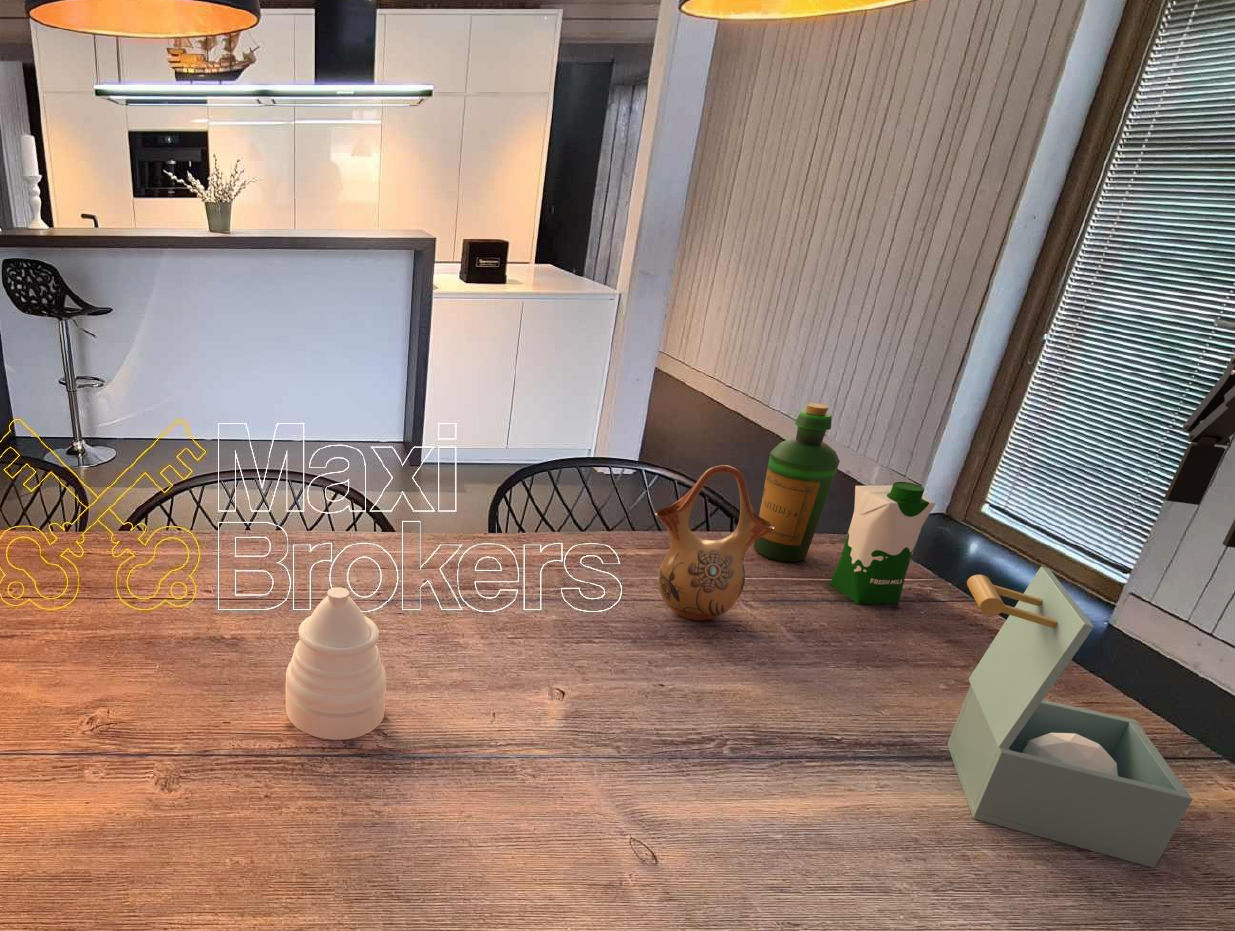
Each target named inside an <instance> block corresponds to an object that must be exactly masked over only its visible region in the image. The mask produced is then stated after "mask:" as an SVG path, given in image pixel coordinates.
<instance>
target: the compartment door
mask: <svg viewBox="0 0 1235 931" xmlns="http://www.w3.org/2000/svg"><path fill="white" fill-rule="evenodd" d="M966 585H967V588H968V589H969V592H970V593H971V595H972V597H973V599H974V601H975V603H976V604H977V607H978V608H979V610H980V611H981V612H982V613H983V614H984V615H986V616H997V615H1000V614H1002V613H1003V614H1006V615H1008V617H1007V619H1006V620H1005V622H1004V623H1003V625H1002V626H1001V627H1000V630H999V631H998V632H997V634H996V635H995V637H994V639H993V640H992V641H991V643H990V645H989V646H988V648H987V650H986V651H985V653H984V654H983V655H982V658H981V659H980V661H979V662H978V664H977V665H976V666H975V668H974V670H973V671H972V673H971V674H970V676H969V678H968V681H969V684H970V685H971V686H972V688H973V690H974V693H975V695H976V697H977V700H978V702H979V704H980V706H981V709H982V711H983V713H984V715H985V718H986V720H987V722H988V724H989V727H990V729H991V731H992V733H993V736H994V738H995V740H996V743H997V745H998V747H1000V748H1002V749H1005V750H1008V748H1009V747H1010V746H1011V744H1012V743H1013V741H1014V740H1015V739H1016V737H1017V736H1018V734H1019V733H1020V731H1021V730H1022V729H1023V727H1024V726H1025V724H1026V723H1027V722H1028V720H1029V719H1030V717H1031V716H1032V714H1033V713H1034V712H1035V710H1036V709H1037V707H1038V706H1039V705H1040V703H1041V702H1042V700H1045V697H1046V696H1047V695H1048V693H1049V692H1050V690H1051V689H1052V688H1053V686H1054V685H1055V683H1056V682H1057V681H1058V679H1059V678H1060V676H1061V675H1062V673H1063V672H1064V670H1065V669H1066V668H1067V666H1068V665H1069V664H1070V662H1071V661H1072V660H1073V658H1074V656H1075V655H1076V654H1077V652H1078V651H1079V650H1080V648H1081V647H1082V645H1083V644H1084V642H1085V641H1086V640H1087V638H1088V636H1089V635H1090V633H1091V632H1092V631H1093V630H1094V628H1095V626H1094V624H1093V623H1092V622H1091V620H1090V619H1089V618H1088V617H1087V615H1086V614H1085V613H1084V611H1083V610H1082V609H1081V607H1080V606H1079V605H1078V603H1077V602H1076V601H1075V599H1074V598H1073V597H1072V596H1071V595H1070V593H1069V592H1068V591H1067V590H1066V588H1065V587H1064V585H1063V584H1062V583H1061V582H1060V581H1059V579H1058V578H1057V577H1056V575H1055V574H1054V572H1052V570H1051V569H1050V568H1048V567H1044V566H1040V567H1039V569H1038V571H1037V572H1036V573H1035V575H1034V576H1033V578H1032V580H1031V581H1030V583H1029V584H1028V586H1027V587H1026V589H1025V590H1024V592H1020V591H1017V590H1013V589H1009V588H1006V587H1002V586H999V585H996V584H993V583H992V581H991V579H990V578H989V577H988V576H986V575H983V574H974V575H971V576H970V577H969V578H968V579H967V580H966ZM1001 597H1006V598H1009V599H1012V600H1015V601H1018V602H1017V603H1016V605H1015V606H1011V605H1007V604H1005V603H1004V601H1003V600H1002V598H1001Z"/></svg>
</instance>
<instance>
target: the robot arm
mask: <svg viewBox="0 0 1235 931" xmlns="http://www.w3.org/2000/svg"><path fill="white" fill-rule="evenodd" d="M1182 431H1183V433H1188V435H1187V442H1189V443H1188V445H1187V446H1186V449H1185V451H1184V453H1183V455H1182V458H1181V460H1180V462H1179V464H1178V466H1177V469H1176V470H1175V473H1174V475H1173V477H1172V480H1171V482H1170V484H1169V486H1168V488H1167V490H1166V492H1165V495H1164V497H1163V499H1164V500H1165V501H1166V502H1171V503H1172V502H1173V503H1180V504H1189V505H1195V506H1200V504H1201V502H1202V500H1203V498H1204V496H1205V494H1206V492H1207V490H1208V488H1209V485H1210V483H1211V481H1212V479H1213V477H1214V475H1215V473H1216V471H1217V469H1218V467H1219V465H1220V462H1221V460H1222V458H1223V456H1224V454H1225V452H1226V448H1225V447H1230V446H1231V445H1232V444H1231V438H1230V437H1233V435H1234V434H1235V354H1234V355H1233V356H1232V358H1231V359H1230V361H1229V363H1228V365H1227V366H1226V368H1225V371H1224V372H1223V374H1222V375H1221V377H1220V378H1219V379H1218V380H1217V381H1216V383H1215V384H1214V385H1213V387H1212V388H1211V389H1210V390H1209V391H1208V393H1207V394H1206V396H1205V397H1204V398H1203V400H1202V401H1201V402H1200V403H1199V405H1197V407H1196V409H1195V410H1194V411H1193V412H1192V413H1191V415H1190V416H1189V417H1188V419H1187V420H1185V423H1184V424H1183V425H1182ZM1223 446H1224V447H1223ZM1222 545H1223V546H1224V547H1227V548H1234V549H1235V518H1234V520H1233V522H1232V524H1231V525H1230V527H1229V530H1228V531H1227V533H1226V535H1225V538H1224V539H1223V541H1222Z"/></svg>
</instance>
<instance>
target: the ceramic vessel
mask: <svg viewBox="0 0 1235 931" xmlns="http://www.w3.org/2000/svg"><path fill="white" fill-rule="evenodd" d="M717 474H728V475H731V476H733V477H734V479H735V481H736V483H737V484H736V485H737V488H738V493H739V503H740V506H739V519H738V522H737V526H736V527H735V529H734V530H733V532H732V533H730V534H729V535H728V536H725V537H723V538H721V539H705V538H704V539H703V538H699V537H698V536H696V534H694V533H693V532H692V530H691V528H690V526H689V521H690V516H691V512H692V509H693V506H694V505H695V502H696V500H697V498H698V496H699V495H700V493H701V491H702V489H703V488H704V486H705V485H706V483H707V482H708V481H709V480H710V479H711V478H712V477H713V476H714V475H717ZM749 495H750V494H749V491H748V486H747V482H746V477H745V476H744V474H743V473H742V471H740V470H739V469H738V468H736V467H733V466H731V465H728V464H721V465H716V466H712V467H710V468H708V469H707V470H706V471H704V472H703V473H702V474H701V475H700V476H699V478H698V479H697V481H696V482H695V483H694V485H693V486H692V487H691V488H690V489H689V490H688V492H686V493H685V494H684V495H683V496H682V497H680V498H679V499H678V500H676V501H675V502H673V504H671V505H668V506H665V507H662V508H660V509H658V510H656V511H655V513H654V515H655V517H656V518H657V519H658V520H659V521H660V522H661V523H662V525H663V526H664V527H665V529H666V530H667V532H668V535H669V539H670V545H669V549H668V552H667V553H666V554H665V556H664V558H662V561H661V562H660V563H661V564H660V565H659V568H658V574H657V585H658V586H657V587H658V591H659V594H660V596H661V599H662V600H663V601H664V603H665V604H666V606H667V607H668V609H671V611H672V612H674V614H676V615H677V616H680V617H682V618H684V619H688V620H693V621H708V620H712V619H714V618H717V617H720V616H722V615H723V614H725V613H727V612H728V611H729V610H731V609H732V608H733V607H734V606H735V605H736V603H737V602H738V601H739V599H740V597H741V596H742V594H743V591H744V589H745V588H744V587H745V584H746V571H745V566H744V563H745V562H744V561H745V557H746V553H747V551H748V550H749V548H750V547H751V545H753V544H754V542H755V541H756V540H757V539H759V538H760V537H762V536H763V535H765V534H767V533H769V532H771V531H772V530H774V527H773V526H772V525H771V524H770V523H769V522H767V521H766V520H764V519H763V518H761V517H759V515H758V514H757V513H756V510H755V509H754V507H753V505H752V503H751V499H750V496H749Z"/></svg>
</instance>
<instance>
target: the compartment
mask: <svg viewBox="0 0 1235 931" xmlns="http://www.w3.org/2000/svg"><path fill="white" fill-rule="evenodd" d="M1049 733H1076V734H1078V735H1080V736H1083V737H1085V738H1087V739H1089V740H1091V741H1094V742H1096V743H1098V744H1100V745H1101V746H1102V747H1103V749H1104V750H1105V751H1106V752H1107V753H1108V754H1109V755H1110V756H1111V757H1112V759H1113V760H1114V761H1115V762H1116V763H1117V772H1118V776H1114V775H1110V774H1106V773H1102V772H1098V771H1094V770H1090V769H1086V768H1081V767H1077V766H1073V765H1069V764H1065V763H1061V762H1057V761H1053V760H1048V759H1044V758H1040V757H1036V756H1032V755H1028V754H1024V753H1022V752H1023V750H1024V749H1025V747H1026V745H1027V744H1028V742H1029V740H1032V739H1035V738H1037V737H1040V736H1043V735H1046V734H1049ZM946 745H947V748H948V751H949V753H950V757H951V760H952V762H953V765H954V768H955V771H956V774H957V776H958V779H959V782H960V785H961V789H962V791H963V794H964V796H965V799H966V802H967V805H968V808H969V811H970V813H971V816H972V819H975V820H978V821H981V822H985V823H989V824H992V825H996V826H999V827H1002V828H1007V829H1011V830H1015V831H1018V832H1022V833H1025V834H1029V835H1031V836H1032V835H1033V836H1036V837H1039V838H1043V839H1047V840H1051V841H1054V842H1058V843H1061V844H1065V845H1069V846H1071V847H1076V848H1080V849H1083V850H1087V851H1091V852H1095V853H1098V854H1101V855H1106V856H1109V857H1113V858H1116V859H1119V860H1123V861H1127V862H1130V863H1135V864H1138V865H1142V866H1145V867H1149V868H1153V869H1154V868H1155V867H1156V865H1157V864H1158V862H1159V861H1160V859H1161V857H1162V855H1163V853H1164V851H1165V850H1166V848H1167V846H1168V844H1169V843H1170V840H1172V837H1173V835H1174V834H1175V832H1176V830H1177V828H1178V827H1179V824H1181V821H1182V819H1183V818H1184V816H1185V814H1186V812H1187V810H1188V809H1189V807H1190V806H1191V803H1192V801H1193V797H1192V796H1191V795H1190V793H1189V792H1188V790H1187V789H1186V788H1185V786H1184V785H1183V784H1182V782H1181V781H1180V780H1179V778H1178V777H1177V775H1176V774H1175V773H1174V771H1173V770H1172V768H1171V766H1170V765H1169V764H1168V762H1167V761H1166V760H1165V757H1163V756H1162V754H1161V753H1160V752H1159V750H1158V749H1157V747H1156V746H1155V744H1154V743H1153V741H1152V740H1151V739H1150V737H1149V736H1148V735H1147V733H1146V732H1145V730H1144V728H1142V726H1141V724H1140V723H1139V722H1138V721H1137V720H1136V719H1134V718H1129V717H1124V716H1119V715H1115V714H1110V713H1107V712H1106V713H1105V712H1101V711H1097V710H1092V709H1089V708H1088V709H1087V708H1084V707H1079V706H1073V705H1069V704H1065V703H1062V702H1061V703H1060V702H1055V701H1051V700H1047V699H1043V700H1042V702H1041V703H1040V705H1039V706H1038V707H1037V709H1036V710H1035V712H1034V713H1033V714H1032V716H1031V717H1030V719H1029V720H1028V722H1027V723H1026V724H1025V726H1024V727H1023V729H1022V730H1021V731H1020V733H1019V734H1018V736H1017V737H1016V739H1015V740H1014V741H1013V743H1012V744H1011V746H1010V747H1009V748H1008V750H1005V749H1002V748H1000V747H998V745H997V743H996V740H995V738H994V736H993V733H992V731H991V729H990V727H989V724H988V722H987V720H986V718H985V715H984V713H983V711H982V709H981V706H980V704H979V702H978V700H977V697H976V695H975V693H974V690H973V688H972V686H971V684H970V685H969V688H968V691H967V693H966V696H965V698H964V701H963V702H962V706H961V708H960V711H959V714H958V715H957V719H956V721H955V723H954V726H953V728H952V730H951V734H950V735H949V739H948V741H947V744H946Z"/></svg>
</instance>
